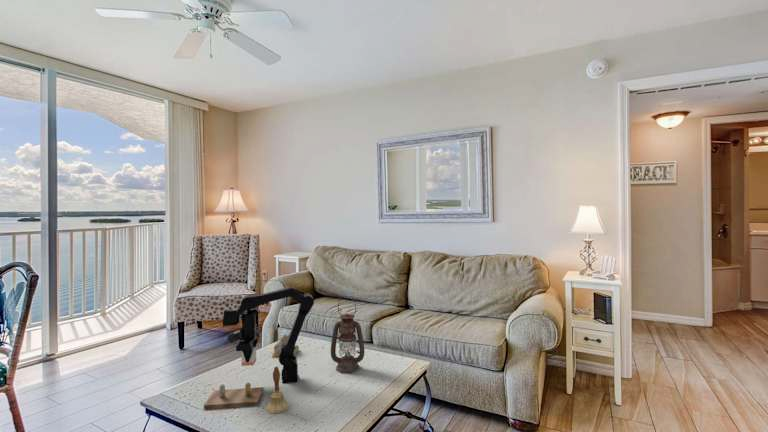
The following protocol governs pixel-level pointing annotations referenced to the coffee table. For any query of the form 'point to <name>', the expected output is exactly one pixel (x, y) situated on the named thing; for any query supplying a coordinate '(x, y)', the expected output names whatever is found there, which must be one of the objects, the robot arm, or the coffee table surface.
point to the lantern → (347, 343)
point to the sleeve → (252, 358)
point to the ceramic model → (278, 346)
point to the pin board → (234, 397)
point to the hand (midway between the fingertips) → (249, 359)
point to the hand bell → (276, 396)
